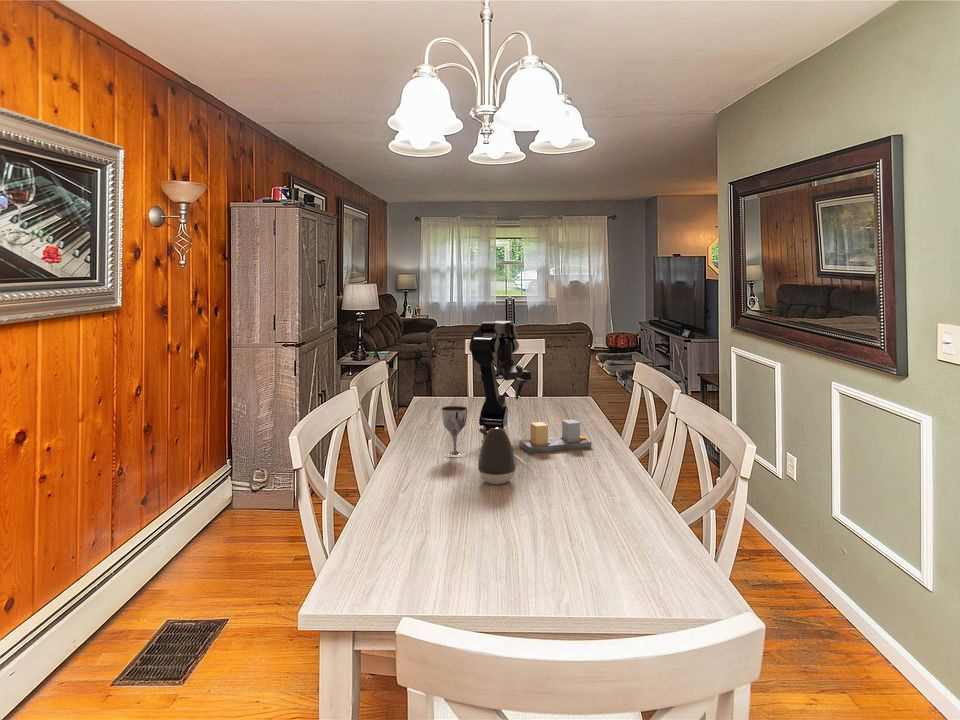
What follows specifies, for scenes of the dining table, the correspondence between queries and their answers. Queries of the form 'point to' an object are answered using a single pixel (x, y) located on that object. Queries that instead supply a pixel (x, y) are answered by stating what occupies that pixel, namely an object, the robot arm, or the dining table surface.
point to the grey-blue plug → (570, 431)
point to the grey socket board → (555, 445)
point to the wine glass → (454, 422)
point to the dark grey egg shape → (496, 457)
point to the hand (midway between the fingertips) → (504, 400)
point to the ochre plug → (539, 433)
